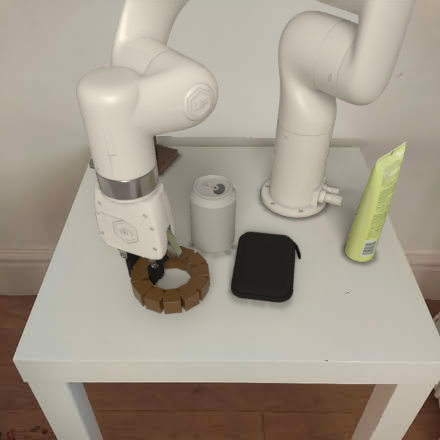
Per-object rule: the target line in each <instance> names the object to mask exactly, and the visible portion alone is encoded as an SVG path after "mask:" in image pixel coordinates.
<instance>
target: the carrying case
mask: <svg viewBox="0 0 440 440" xmlns="http://www.w3.org/2000/svg"><path fill="white" fill-rule="evenodd" d="M237 241H238V242H237V247H236V253H235V258H234V263H233V270H232V276H231V281H230V291H231V293H232V295H233V296H234V297H236V298H238V299H243V300H251V301H260V302H267V303H269V302H270V303H277V304H278V303H279V304H280V303H281V304H282V303H285V302H287V301H288V300H290V299H291V298H292V297H293V295H294V282H295V281H294V280H295V265H296V256H297V258H298V260H301V259H302V253H301V249H300V248H299V245H298V243H296V242H295V241H294V240H293V239H292V238H291V237H290V236H289V235H286V234H281V233H280V234H278V233H271V232H261V231H252V230H251V231H245V232H244V233H242V234H241V235H240V236H239V238H238V240H237Z"/></svg>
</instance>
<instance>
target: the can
mask: <svg viewBox="0 0 440 440" xmlns="http://www.w3.org/2000/svg"><path fill="white" fill-rule="evenodd" d="M188 193H189V194H188V199H189V216H190V217H189V220H190V234H191V235H190V238H191V239H190V240H191V243H192V245H193V246H194V247H195V249H197V250H198V251H200V252H201V253H205V254H209V255H218V254H222V253H224V252H226V251H228V250H229V249H231V248H232V247H233V245H234V243H235V236H236V235H235V234H236V215H237V214H236V213H237V211H236V210H237V191H236V188H235V187H234V184H233V182H232V181H231V179H229V178H228V177H225V176H224V175H219V174H205V175H202V176H200V177H198V178H196V179H195V181H194V182H193V184H192V187H191V189H190V190H189V192H188Z"/></svg>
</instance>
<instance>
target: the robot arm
mask: <svg viewBox="0 0 440 440" xmlns="http://www.w3.org/2000/svg"><path fill="white" fill-rule="evenodd" d="M315 1H317V2H319V3H322V4H324V5H327V6H330V7H333V8H335V9H339V10H342V11H345V12H348V13H351V14H354V15H357V16H358V22H354V21H352V20H350V19H347V18H345V17H341V16H339V15H335V14H331V13H328V12H326V11H321V10H305V11H301V12H299V13H297V14H295V15H294V16H292V17H291V18H290V19H289V21H288V22H287V23H286V24H285V26H284V27H283V30H282V32H281V34H280V37H279V40H278V41H279V42H278V48H277V64H278V65H277V66H278V76H279V102H278V111H277V121H276V129H275V130H276V131H275V139H274V147H273V156H272V166H271V173H270V174H271V175H270V178H269V179H268V180H266V181H265V183H263V185H262V186H261V191H260V198H261V201H262V203H263V204H264V206H265V207H266V208H267V209H269V210H270V211H272V212H273V213H275V214H276V215H280V216H283V217H287V218H295V219H296V218H297V219H298V218H299V219H300V218H308V217H311V216H314V215H316V214H318V213H320V212H321V211H322V210H324V208H325V207H326V205H327V204H330V205H333V206H336V207H342V204H343V201H344V197H345V196H344V195H341V194H340V191H341V188H339V187H335V186H329V184H327V183H326V182H327V178H328V176H326V175H325V172H326V171H325V170H326V165H327V162H328V157H329V152H330V147H331V142H332V138H333V133H334V128H335V124H336V119H337V112H338V107H337V99H338V100H340V101H343V102H346V103H348V104H351V105H354V106H360V107H361V106H367V105H371V104H372V103H374V102H375V101H376V100H378V99H379V98H380V97H381V96H382V94H383V93H384V91H385V90H386V88H387V86H388V85H389V82H390V81H391V78H392V76H393V73H394V70H395V68H396V65H397V61H398V59H399V56H400V53H401V50H402V46H403V43H404V40H405V36H406V33H407V31H408V27H409V25H410V20H411V18H412V15H413V11H414V8H415V5H416V2H417V0H315ZM188 2H190V0H124V2H123V3H122V7H121V11H120V15H119V18H118V22H117V25H116V30H115V34H114V38H113V43H112V47H111V54H110V65H109V66H103V67H98V68H95V69H92V70H90V71H87V72H85V74H84V75H82V76H81V78H80V79H78V82H77V85H76V89H75V91H76V92H75V95H76V100H77V105H78V109H79V112H80V117H81V121H82V124H83V128H84V131H85V136H86V140H87V144H88V148H89V152H90V155H91V158H90V160H89V163H88V165H89V168H90V169H92V170H94V171H95V175H96V181H95V182H94V185H93V186H94V187H93V204H94V212H95V218H96V223H97V229H98V232H99V235H100V238H101V240H102V242H103V243H104V244H106V245H107V246H110V247H112V248H114V249H117V250H118V251H119V255H120V257H121V258H122V259H124V260H125V264H126V269H127V271H128V276H129V279H131V270H133V266H134V265H135V263H136V262H137V261H138V259H139V258H140V257H145V258H148V260H149V263H150V264H149V265H148V267H147V270H148V274H149V278H150V281H151V282H152V283H153V284H154V286H157V283H158V282H159V280H161V279H163V278H164V276H165V270H164V264H163V263H164V262H166V261H167V260H178V259H179V258H180V257H181V255H182V254H183V251H182V249H181V248H180V246H181V245H179V243H178V242H177V240H176V227H175V220H174V216H173V211H172V206H171V203H170V200H169V196H168V193H167V191H166V188H165V185H164V184H163V182H161V181H160V177H159V175H158V169H157V161H156V154H155V146H154V138H153V137H154V136H155V135H156V136H160V135H164V134H168V133H174V132H180V131H185V130H189V129H191V128H194V127H196V126H199V125H200V124H202V123H203V122H204V121H206V120H207V119H208V118H209V117H210V116H211V115H212V113H213V112H214V111H215V109H216V106H217V104H218V100H219V86H218V82H217V80H216V77H215V76H214V73H212V71H211V70H210V69H209V68H207V66H205V65H204V64H202V63H201V62H199V61H198V60H195V59H193V58H191V57H189V56H188V55H185V54H183V53H181V52H180V51H178V50H176V49H174V48H171V47H170V46H167V44H168V40H169V37H170V35H171V31H172V30H173V26H174V24H175V22H176V20H177V18H178V16H179V14H180V13H181V12H182V10H183V9H184V8H185V6H186V5H187V4H188Z"/></svg>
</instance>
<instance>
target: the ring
mask: <svg viewBox="0 0 440 440" xmlns="http://www.w3.org/2000/svg"><path fill="white" fill-rule="evenodd" d="M179 246H180V248H181V249H182V251H183V254H182V255H181V257H180V258H179V259H178V260H167V261H166V262H164V263H163V264H164V271H165V270H171V269H172V270H173V269H174V270H175V269H178V270H179V271H180V270H181V271H182V272H183V271H184V272H186V274H188V275H189V276H190V277H189V279H188V280H187V282H185V283H184V284H182V285H180V286H178V287H177V288H163V287H161V286H157V285H155V286H154V284H153V283H152V282H151V281H150V278H149V274H148V270H147V267H148V265H149V264H150V263H149V260H148V258H145V257H140V258H139V259H138V261H137V262H136V263H135V265H134V266H133V270H131V278H130V284H131V288H132V293H133V296H134V298H135V299H136V300H137V301H138V302H139V304H140V305H141V306H142V307H145V309H146V310H149V311H151V312H155V313H157V314H162V313H163V312H164V314H165V315H173V314H182V313H183V311H185V312H188V311H190V310H191V309H193V308H194V307H196V306H198V305H200V303H201V302H203V301H204V299H205V298H206V296H207V294H208V292H209V291H210V287H211V275H210V268H209V263H208V262H207V259H206V258H204V257H203V255H202V254H200V253H199V251H196V252H195V249H193V248H190V247H186V246H183V245H179ZM200 301H201V302H200Z"/></svg>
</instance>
